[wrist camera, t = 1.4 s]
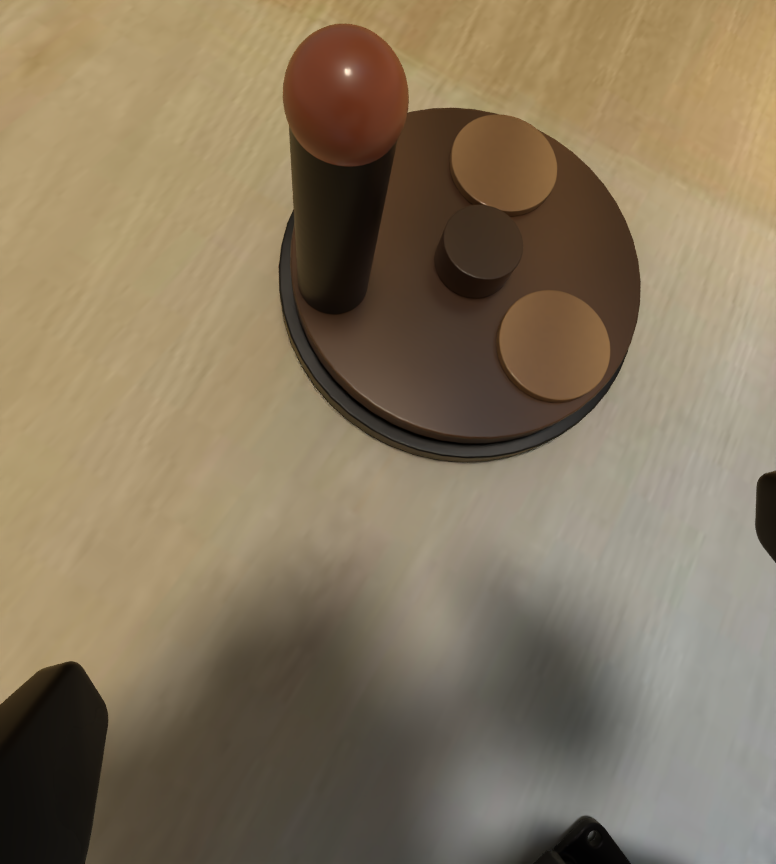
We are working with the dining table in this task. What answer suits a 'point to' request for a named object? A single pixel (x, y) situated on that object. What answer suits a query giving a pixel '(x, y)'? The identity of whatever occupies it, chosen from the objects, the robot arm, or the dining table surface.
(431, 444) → the base
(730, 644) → the dining table surface
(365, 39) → the turntable with crank handle
